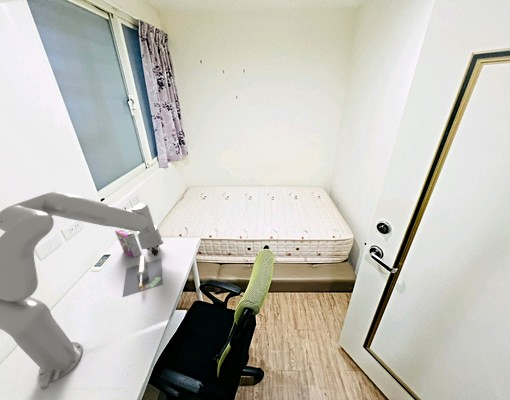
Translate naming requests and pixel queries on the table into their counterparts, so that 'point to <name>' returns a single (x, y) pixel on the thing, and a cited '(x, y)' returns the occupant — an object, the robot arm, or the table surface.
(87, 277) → the table surface
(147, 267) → the tuner board
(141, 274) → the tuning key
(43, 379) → the robot arm
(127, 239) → the candy bar box
